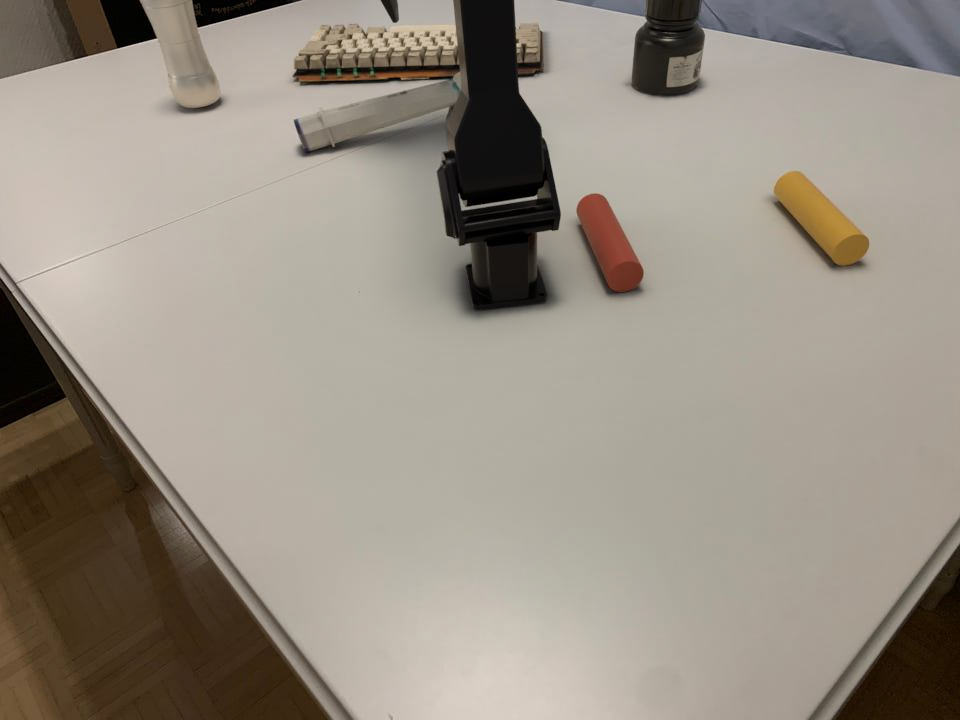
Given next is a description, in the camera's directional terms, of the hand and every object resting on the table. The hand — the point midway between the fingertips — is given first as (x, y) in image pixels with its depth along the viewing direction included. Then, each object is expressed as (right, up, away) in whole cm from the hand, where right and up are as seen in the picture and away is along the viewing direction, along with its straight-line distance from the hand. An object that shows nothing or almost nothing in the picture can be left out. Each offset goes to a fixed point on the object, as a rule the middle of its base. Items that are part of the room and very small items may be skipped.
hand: (436, 22), depth 77 cm
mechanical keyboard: (-4, +10, +33) cm, 34 cm away
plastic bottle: (-35, -1, +24) cm, 42 cm away
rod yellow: (+36, -24, -10) cm, 45 cm away
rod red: (+17, -27, -11) cm, 33 cm away
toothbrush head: (-5, -8, +12) cm, 16 cm away
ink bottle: (+30, +1, +19) cm, 36 cm away
